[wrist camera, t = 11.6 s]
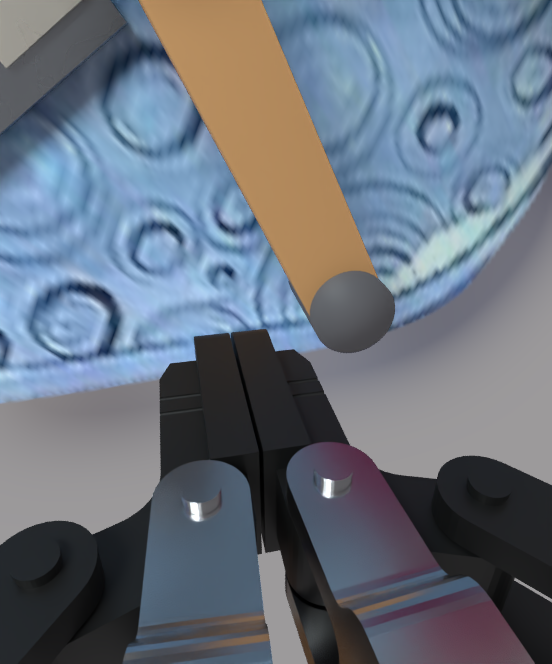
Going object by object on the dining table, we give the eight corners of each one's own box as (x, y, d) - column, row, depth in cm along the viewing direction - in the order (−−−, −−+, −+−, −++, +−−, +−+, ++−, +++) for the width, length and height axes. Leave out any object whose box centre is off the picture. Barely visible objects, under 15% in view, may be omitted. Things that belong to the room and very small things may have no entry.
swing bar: (91, -79, 15) (70, -120, 12) (181, -135, 15) (191, -195, 11) (305, 315, 24) (333, 366, 20) (365, 283, 24) (405, 327, 20)
